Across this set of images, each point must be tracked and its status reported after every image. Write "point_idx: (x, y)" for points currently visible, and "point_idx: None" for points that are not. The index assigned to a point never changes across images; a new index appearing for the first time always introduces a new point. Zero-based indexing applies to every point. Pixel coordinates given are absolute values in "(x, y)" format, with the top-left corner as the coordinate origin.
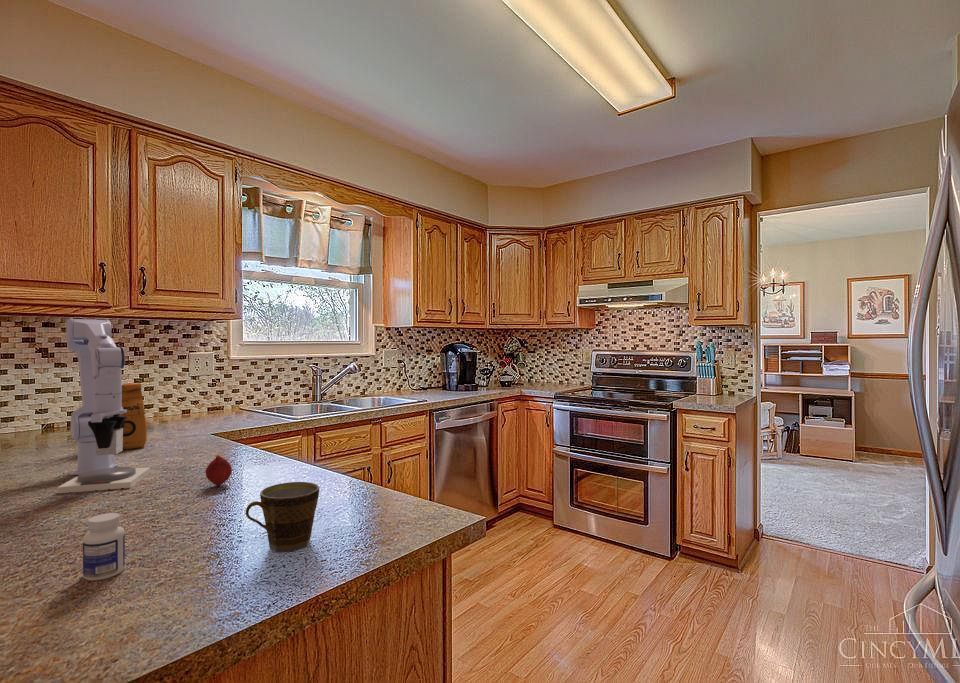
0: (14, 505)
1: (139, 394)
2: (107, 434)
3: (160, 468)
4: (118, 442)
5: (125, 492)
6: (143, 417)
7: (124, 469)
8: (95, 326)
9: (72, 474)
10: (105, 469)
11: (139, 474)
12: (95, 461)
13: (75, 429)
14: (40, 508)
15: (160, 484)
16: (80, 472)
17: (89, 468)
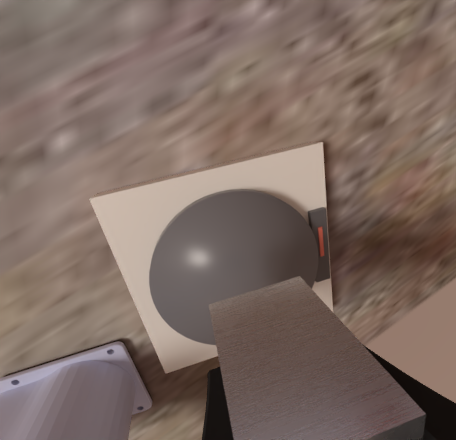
0: (390, 319)
1: None
2: None
3: (10, 193)
4: (298, 329)
5: (356, 129)
6: None
7: (193, 249)
8: None
9: (151, 401)
10: (190, 314)
11: (216, 173)
12: (114, 404)
13: None
14: (430, 255)
15: (281, 46)
16: (136, 396)
17: (130, 389)
